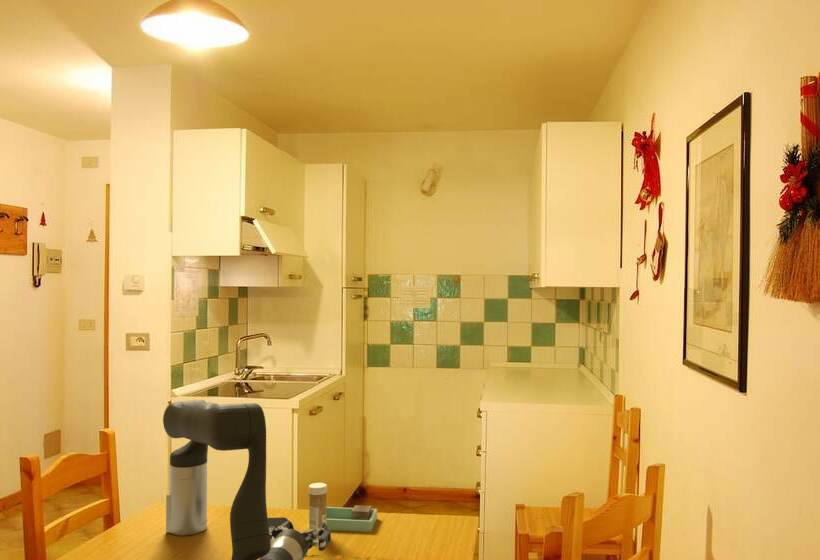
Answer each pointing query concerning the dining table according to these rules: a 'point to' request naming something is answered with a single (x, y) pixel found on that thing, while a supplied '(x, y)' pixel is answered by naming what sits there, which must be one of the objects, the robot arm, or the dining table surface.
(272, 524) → the carrying case or bag
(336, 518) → the tray
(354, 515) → the copper block
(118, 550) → the dining table surface
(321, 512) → the sprinkles bottle
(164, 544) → the dining table surface
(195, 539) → the dining table surface
